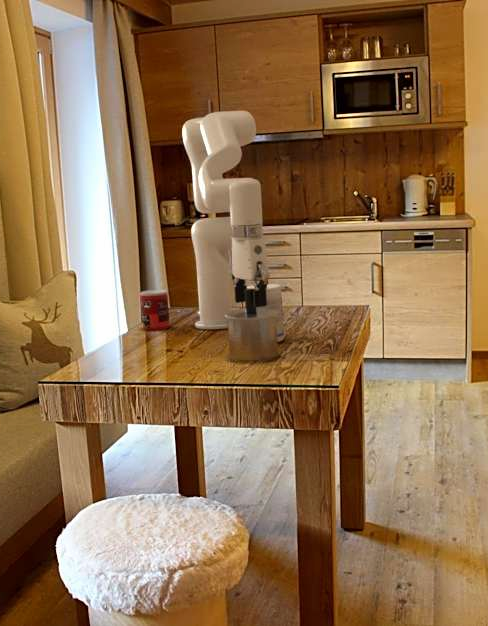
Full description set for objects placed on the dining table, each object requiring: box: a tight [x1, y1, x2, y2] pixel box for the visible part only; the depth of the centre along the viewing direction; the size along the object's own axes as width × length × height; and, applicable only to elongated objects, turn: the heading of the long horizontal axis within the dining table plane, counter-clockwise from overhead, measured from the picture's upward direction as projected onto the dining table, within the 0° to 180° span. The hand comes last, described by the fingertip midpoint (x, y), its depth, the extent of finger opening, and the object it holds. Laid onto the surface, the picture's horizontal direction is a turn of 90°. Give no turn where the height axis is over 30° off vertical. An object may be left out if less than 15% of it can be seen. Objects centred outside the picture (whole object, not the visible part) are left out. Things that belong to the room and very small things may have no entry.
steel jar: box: [227, 316, 279, 362], centre depth 200 cm, size 12×12×10 cm
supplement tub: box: [247, 283, 285, 343], centre depth 218 cm, size 10×10×15 cm
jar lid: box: [225, 288, 278, 321], centre depth 199 cm, size 13×13×7 cm
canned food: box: [139, 289, 170, 332], centre depth 245 cm, size 8×8×11 cm
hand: (250, 304), depth 199 cm, fingers open, 8 cm apart
